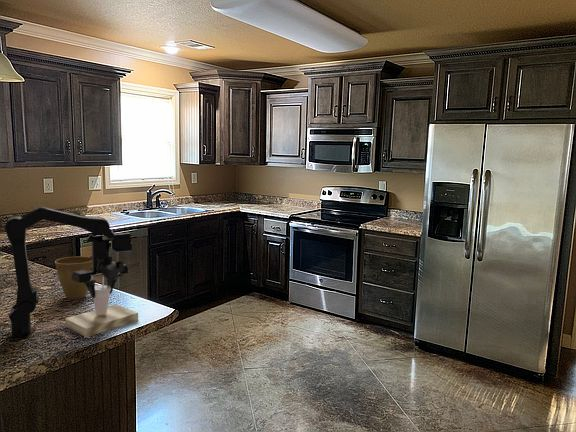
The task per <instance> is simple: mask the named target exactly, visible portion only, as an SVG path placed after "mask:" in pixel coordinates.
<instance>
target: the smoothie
mask: <svg viewBox="0 0 576 432" xmlns="http://www.w3.org/2000/svg"><path fill="white" fill-rule="evenodd" d="M101 276H102V277H101V278H102V283H101V284H100V285H99V284H98V285H95V298H93V302H94V303H93V304H94V310H95V313H96V315H105V314H107V308H108V307H109V300H110V295H111V294H110V291H111V287H110V286H108V284H107V285H106V284H105V276H104V275H101Z"/></svg>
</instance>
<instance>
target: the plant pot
mask: <svg viewBox="0 0 576 432" xmlns="http://www.w3.org/2000/svg"><path fill="white" fill-rule="evenodd" d="M54 264H55V270H56V273H57V274H56V275H57V276H58V277H57V278H58V280H59V283H60V284H59V285H60V286H61V289H62V291H63V293H64V295H65V297H66V298H67V299H68V300H77V299H82V298H85V296H86V295H87V293H88V291H89V290H88V288H87V287H86V285H85V284H84V282H83V283H79V282H77V281H74V280H72V274H73V272H76V271H81V270H84V271H87V272H91V271H93V270H91V269H90V267H92V259H90V256H85V255H84V256H82V255H81V256H67V257H62V258H61V257H60V258H58V259H56V260H55V261H54Z"/></svg>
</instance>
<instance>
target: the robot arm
mask: <svg viewBox="0 0 576 432" xmlns="http://www.w3.org/2000/svg"><path fill="white" fill-rule="evenodd" d="M43 220H44V221H48V222H53V223H57V224H62V225H63V224H64V225H67V226H71V227H75V228H80V229H82V230H84V231H87V232H89V235H88V237H86V238H85V241H86V242H87V243H91V255H90V256H89V257H90V259H92V267H90V269H91V270H93V271H91V272H87V271H84V270H81V271H76V272H73V274H72V280H74V281H77V282H79V283H83V282H84V284H85V285H86V287H87V288H88V290H87V291H88V292H89V294H90V296H91V298H92V299H94V298H95V286H96V285H95V284H96V282H97V280H95V279H94V277H98V276H104V278H106V284H107V285H108V286H110V287H111V291H110V295H111V294H112V293H113V290H114V288H115V285H116V282H117V281H118V280H119V278H120V277H123V275H124V274H129V273H130V269H129V266H128V265H127V264H124V262H123V260H119V261H115V262H114V261H113V257H112V255H111V253H110V247H111V251H114V253H124V252H126V253H127V252H128V253H129V252H132V251H133V243H132V235H131V233H130V232H124V233H114V231H113V230H111V227H110V224H109V221H108V220H107V219H106V218H104V217H102V216H89V215H88V216H84V215H79V214H74V213H71V212H65V211H60V210H57V209H53V208H49V207H47V206H38V207H37V208H35V209H33V210H32V211H29V212H27V213H25V214H23V215H21V216H20V215H16V216H12V217H10V218H9V219H8V220H7V221H6V222H5V224H4V230H5V233H6V236H7V239H8V241H9V243H10V245H11V248H12V249H11V250H12V256H13V262H14V268H15V269H14V270H15V276H16V277H15V278H16V282H17V284H16V286H17V289H16V290H17V291H16V301H15V302H16V303H14V305H13V306H11V308H10V311H9V313H8V314H9V315H8V319H9V320H10V331H11V332H10V333H9V334H8V335H7V336H6V338H7V339H10V338H11V339H12V338H14V339H15V338H28V337H29V336H31V335H32V334H33V333H34V332H36V328H32V322H31V321H32V318H31V313H33V312H34V311H35V310H36V308H37V305H38V304H39V301H40V296H39V294H38V290H39V289H38V286H36V287H33V285H32V282H31V275H30V274H31V273H30V268H29V267H30V266H29V259H28V252H27V245H26V242H27V232H28V228H30V227H32V226H34V225H36V224H37V223H39V222H41V221H43ZM103 236H104V237H103Z"/></svg>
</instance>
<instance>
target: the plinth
mask: <svg viewBox="0 0 576 432" xmlns="http://www.w3.org/2000/svg"><path fill="white" fill-rule="evenodd" d="M138 321H139V312H138V311H135V310H132V309H130V308H128V307H125V306H122V305H120V304H118V303H117V304H113V305H108V308H107V314H105V315H96V313H95V309H94V310H92V311H87V312H83V313H80V314H77V315H76V314H75V315H72V316H70V317H66V318H64V323H65V324H64V326H65V327H66V328H67V329H70V330H71V331H73V332H75V333H77V334H80V335H81V336H84V337H85V338H87V337H91V336H94V335H97V334H100V333H104V332H107V331H110V330H113V329H117V328H119V327H122V326H126V325H129V324H133V323H136V322H138Z"/></svg>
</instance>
